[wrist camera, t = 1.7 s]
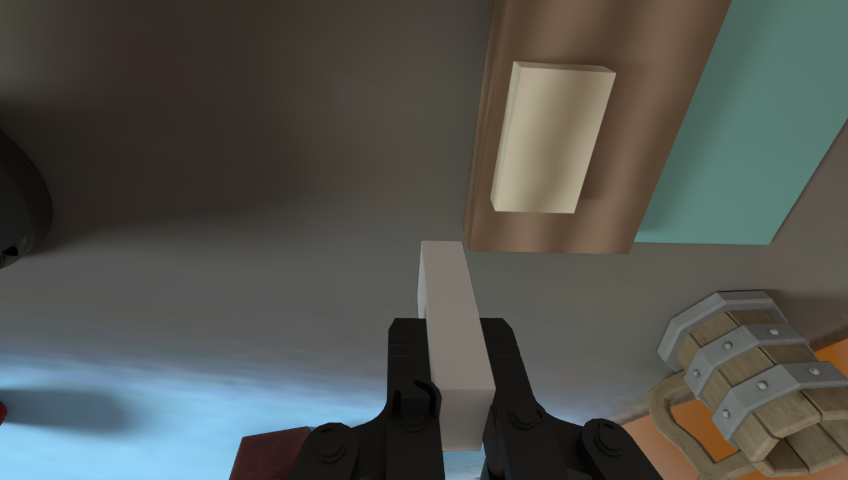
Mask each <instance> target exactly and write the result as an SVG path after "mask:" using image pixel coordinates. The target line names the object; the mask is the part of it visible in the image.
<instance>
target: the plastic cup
mask: <svg viewBox="0 0 848 480" xmlns="http://www.w3.org/2000/svg"><path fill="white" fill-rule="evenodd" d="M6 414H7V411H6V408H5V407H4V406H3V405H2V404H1V402H0V426H1V424H2V422H3V421H4V419H5V418H4V417H5V415H6Z"/></svg>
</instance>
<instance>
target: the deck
mask: <svg viewBox="0 0 848 480" xmlns="http://www.w3.org/2000/svg"><path fill="white" fill-rule="evenodd" d="M731 2H732V0H494V2H493V10H492V17H491V24H490V31H489V39H488V46H487V53H486V61H485V68H484V75H483V82H482V90H481V97H480V104H479V112H478V119H477V126H476V133H475V141H474V148H473V155H472V163H471V170H470V177H469V184H468V192H467V199H466V206H465V214H464V221H463V229H464V232H465V236H466V240H467V244H468V248H469V251H499V252H549V253H599V254H629V252H630V249H631V247H632V244H633V242H634V240H635V237H636V235H637V232H638V230H639V227H640V225H641V222H642V220H643V218H644V215H645V213H646V210H647V208H648V205H649V203H650V200H651V198H652V195H653V193H654V191H655V188H656V186H657V183H658V181H659V178H660V176H661V173H662V171H663V169H664V166H665V164H666V161H667V159H668V156H669V154H670V151H671V149H672V147H673V144H674V142H675V139H676V137H677V134H678V132H679V129H680V127H681V124H682V122H683V120H684V117H685V115H686V112H687V110H688V107H689V105H690V102H691V100H692V98H693V95H694V93H695V90H696V88H697V85H698V83H699V80H700V78H701V76H702V73H703V71H704V68H705V66H706V63H707V61H708V58H709V56H710V53H711V51H712V49H713V46H714V44H715V41H716V39H717V36H718V34H719V31H720V29H721V27H722V24H723V22H724V19H725V17H726V14H727V12H728V9H729V7H730V4H731ZM514 61H524V62H541V63H558V64H574V65H591V66H603V67H605V68H607V69H609V70H611V71H613V72H615V73H616V76H615V79H614V82H613V86H612V89H611V92H610V96H609V99H608V102H607V106H606V109H605V112H604V116H603V119H602V122H601V125H600V129H599V132H598V135H597V139H596V142H595V145H594V149H593V152H592V155H591V159H590V162H589V165H588V169H587V172H586V175H585V179H584V182H583V185H582V188H581V192H580V195H579V198H578V202H577V205H576V208H575V212H574V213H543V212H508V211H495V209H494V207H493V204H492V202H491V199H490V196H491V190H492V185H493V179H494V173H495V167H496V161H497V156H498V150H499V144H500V138H501V132H502V126H503V121H504V115H505V109H506V103H507V97H508V92H509V86H510V80H511V74H512V68H513V62H514Z"/></svg>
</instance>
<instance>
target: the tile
mask: <svg viewBox="0 0 848 480" xmlns="http://www.w3.org/2000/svg"><path fill="white" fill-rule="evenodd" d="M615 76H616V73H615V72H613V71H611V70H609V69H607V68H605V67H603V66H591V65H574V64H558V63H541V62H524V61H514V62H513V68H512V74H511V80H510V86H509V92H508V97H507V103H506V109H505V115H504V121H503V126H502V132H501V138H500V144H499V150H498V156H497V161H496V167H495V173H494V179H493V185H492V190H491V196H490V199H491V202H492V204H493V207H494V209H495V211H508V212H543V213H574V212H575V208H576V205H577V202H578V198H579V195H580V192H581V188H582V185H583V182H584V179H585V175H586V172H587V169H588V165H589V162H590V159H591V155H592V152H593V149H594V145H595V142H596V139H597V135H598V132H599V129H600V125H601V122H602V119H603V116H604V112H605V109H606V106H607V102H608V99H609V96H610V92H611V89H612V86H613V82H614V79H615Z"/></svg>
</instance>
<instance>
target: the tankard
mask: <svg viewBox="0 0 848 480" xmlns="http://www.w3.org/2000/svg"><path fill="white" fill-rule="evenodd" d="M657 352H658V354H659V355H660V357H661V358H662V360H663V361H664V362H665V363H666V364H667V365H668V366H669V367H671V368H672V369H673V370H674V371H675V372H676V374H674V375H671V376H669V377H667V378H665V379H664V380H662V381H661V382H660V383H659V384H657V385H656V386H655V387H653V388H652V389H651V390H650V391H649V414H650V416H651V418H652V420H653V422H654V424H655V426H656V427H657V429H658V431H659V432H660V433H661V434H662V435H663V436H665V437H666V438H667V439H668V440H669V441H670V442H671V443H672V444H674V445H675V446H676V447H677V448H678V449H679V450H680V451H681V452H682V453H683V454H684V456H685V457H686V459H687V460H688V461H689V463H690V464H691V465H692V467H693V468H694V470H695V471H696V473H697V474H698V475H699V477H698V479H697V480H733V479H735V478H738V477H740V476H743V475H745V474H748V473H750V472H753V471H756V470H759V471H760V472H761V473H762V474H763V475H764V476H767V477H785V476H786V477H787V476H801V475H807V474H808V472H809V473H810V474H813V473H816V472H818V471H821V470H823V469H826V468H828V467H831V466H833V465H836V464H838V463H841V462H843V461H846V460H848V378H847V377H846V376H845V375H844V374H842V373H841V372H840V371H839V370H838V369H837V368H836V367H835V366H834V365H833V364H832V363H831V362H828V361H823V362H819V359H818V358H817V356H816V355H815V353H814V352H813V350H812V349H811V347H810V346H809V342H808V340H806V339H804V338H803V337H802V336H801V335H800V334H799V333H798V332H797V331H796V330H795V329H794V328H793V327H791V326H790V325H789V324H788V321H787V320H786V318H785V317H784V315H783V314H782V312H781V311H780V309H779V308H778V307H777V305H776V304H775V302H774V301H773V299H772V298H771V297H770V296H769V295H767V294H766V293H765V292H764V291H741V292H716V293H714V294H712V295H710V296H708V297H707V298H705V299H703V300H702V301H700V302H698V303H697V304H695V305H693V306H692V307H690V308H688V309H687V310H685V311H683V312H682V313H680V314H678V315H676V316H675V317H673V318H672V319H671V321H670V324H669V326H668V328H667V330H666V332H665V335H664V337H663V339H662V341H661V343H660V346H659V348H658V350H657ZM691 390H692V392H693V393H694V395H695V397H696V399H698V400H701V401H702V402H703V403H704V404H705V405H706V406H707V407H708V408H709V409H710V410H711V411H712V412H715V413H714V415H713V416H712V421H713V422H714V423H715V425H716V426H717V428H718V429H719V431H720V432H721V434H722V435H723V438H724V439H725V440H727V441H728V442H730V444H732V445H733V446H734V447H735V448H736V449H737V450H738V451H737V452H736V453H734V454H732V455H730V456H728V457H726V458H724V459H722V460H720V461H718V462H715V461H714V459H713V458H712V457H711V455H710V454H709V453H708V452H707V450H706V449H705V448H704V446H703V445H702V444H701V442H699V441H698V440H697V439H696V438H695V437H693V436H692V435H691V434H690V433H688V432H687V431H686V430H685V429H684V428H682V427H681V426H680V425H679V424H677V422H676V420H675V419H674V417H673V415H672V413H671V410H670V402H671V401H672V400H673V399H674V398H675V397H676V396H677V395H680V394H683V393H685V392H688V391H691Z"/></svg>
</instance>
